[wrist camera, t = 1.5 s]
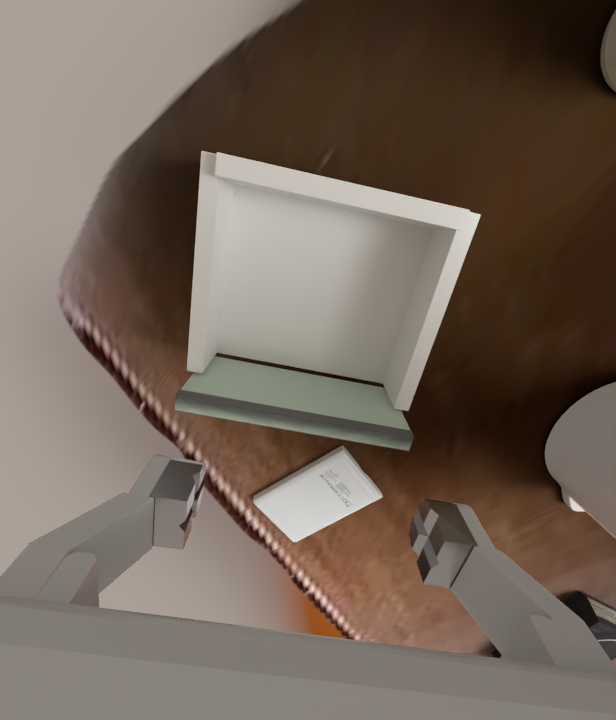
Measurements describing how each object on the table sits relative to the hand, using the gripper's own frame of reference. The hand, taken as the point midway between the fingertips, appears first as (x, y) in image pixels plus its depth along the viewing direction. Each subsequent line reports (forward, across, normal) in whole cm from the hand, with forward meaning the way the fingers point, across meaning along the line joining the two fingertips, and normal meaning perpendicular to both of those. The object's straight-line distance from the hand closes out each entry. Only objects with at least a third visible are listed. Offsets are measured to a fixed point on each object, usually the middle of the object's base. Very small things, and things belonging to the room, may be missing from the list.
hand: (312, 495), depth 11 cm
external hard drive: (+22, -5, +20) cm, 31 cm away
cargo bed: (+21, 0, -3) cm, 22 cm away
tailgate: (+20, 0, +5) cm, 21 cm away
